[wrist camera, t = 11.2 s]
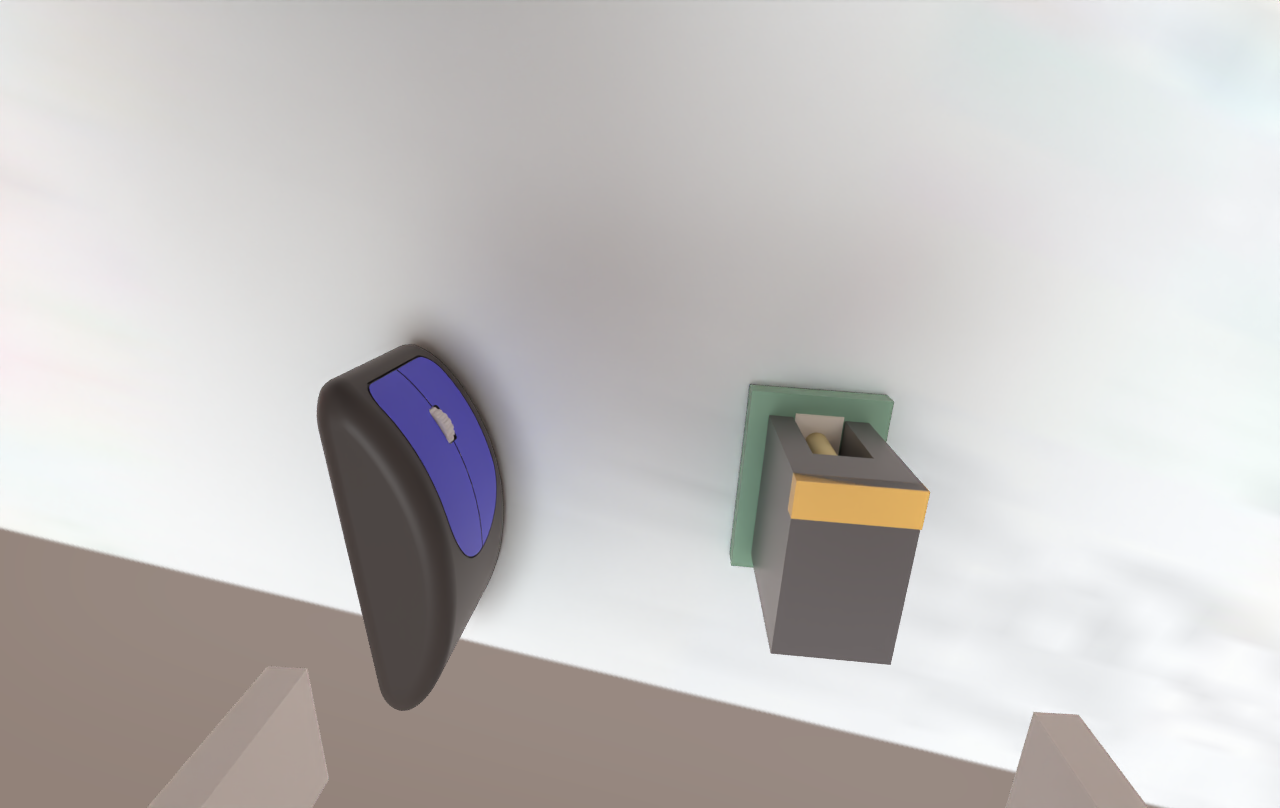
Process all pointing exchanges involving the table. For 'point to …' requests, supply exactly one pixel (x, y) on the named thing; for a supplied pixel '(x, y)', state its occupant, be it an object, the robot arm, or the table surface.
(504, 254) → the table surface
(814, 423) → the header
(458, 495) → the computer mouse
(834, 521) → the gray orange-striped box
